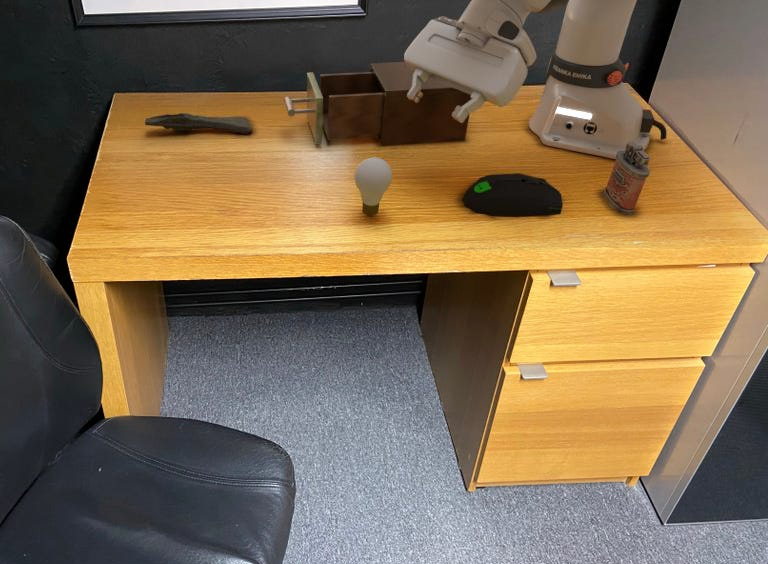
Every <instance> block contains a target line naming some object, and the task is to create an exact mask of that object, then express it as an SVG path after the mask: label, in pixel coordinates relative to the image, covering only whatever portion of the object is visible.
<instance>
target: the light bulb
mask: <svg viewBox="0 0 768 564" xmlns="http://www.w3.org/2000/svg"><path fill="white" fill-rule="evenodd" d="M392 182H393V172H392V168H391V167H390V165H389V163H387V161H385V160H384V159H382V158H379V157H376V156H375V157H368V158H366V159H364V160H362V161H361V162H360V163H359V164H358V165H357V167H356V169H355V172H354V183H355V186H356V188H357V189H358V191H359V193H360V198H361V201H362V210H361V211H362V212H361V213H363V214H364V215H365V216H367V217H374V216H376V215H377V214H378V213H379V211H380V210H379V209H380V204H381V201H382V199H383V196H384V195H385V193H386V192H387V190H388V189H389V188H390V186H391V184H392Z"/></svg>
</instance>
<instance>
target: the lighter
mask: <svg viewBox="0 0 768 564" xmlns="http://www.w3.org/2000/svg"><path fill="white" fill-rule="evenodd" d="M650 160H651V158H650V156H649V154H647V153H646V152H645V150H644V151H643V146H642V145H637V144H636V143H634V142H627V145H626V149H625V151H618V152H617V154H616V159H615V161H614V163H613V167H612V170H611V173H610V175H609V179H608V181H607V185H606V186H605V187H604V189H603V192H602V194H603V197H604V199H605V201H606V202H607V203H608V205H609V206H610V207H611V208H612V209H613V210H615V211H616V212H617V213H618V214H620V215H622V216H632V215H634V214H635V211H636V205H637V203H638V201H639V197H640V195H641V193H642V190H643V187H644V185H645V182H646V179H648V177H649V176H650V173H651V170H650V168H649V167H648V165H649V163H650Z"/></svg>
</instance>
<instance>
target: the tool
mask: <svg viewBox="0 0 768 564" xmlns="http://www.w3.org/2000/svg"><path fill="white" fill-rule="evenodd" d="M144 121H145V122H144V125H145V126H151V127H152V126H153V127H163V128H164V129H166V130H169V129H172V130H173V131H180V132H191V131H193V130H201V129H211V130H217V131H225V132H232V133H238V134H249V133H252V132H253V127H252V125H251V123H250V122H249V121H248V120H247V118H246V117H245V116H204V115H199V114H196V115H195V114H190V113H187V112H186V113H184V112H181V113H177V114H176V113H175V114H168V113H167V114H162V115H156V116H151V117H146V118H145V120H144Z"/></svg>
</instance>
